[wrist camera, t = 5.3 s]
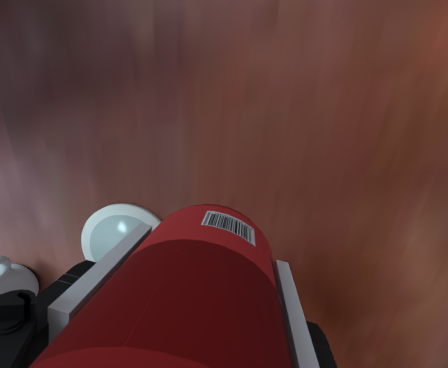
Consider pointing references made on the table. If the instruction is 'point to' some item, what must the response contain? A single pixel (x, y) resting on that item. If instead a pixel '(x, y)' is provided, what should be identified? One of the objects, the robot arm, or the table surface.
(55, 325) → the robot arm
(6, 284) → the cup
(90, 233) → the plate
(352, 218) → the table surface
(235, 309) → the canned food
